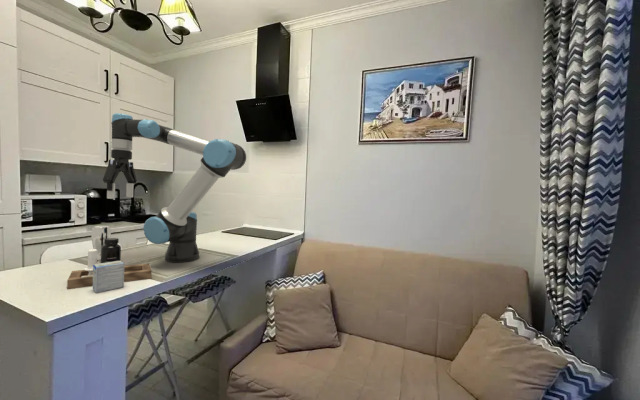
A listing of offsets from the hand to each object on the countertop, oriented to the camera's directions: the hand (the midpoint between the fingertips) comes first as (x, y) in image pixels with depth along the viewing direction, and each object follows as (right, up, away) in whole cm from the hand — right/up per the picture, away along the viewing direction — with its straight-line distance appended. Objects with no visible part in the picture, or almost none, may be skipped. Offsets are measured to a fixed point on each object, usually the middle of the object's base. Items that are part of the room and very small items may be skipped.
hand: (120, 198), depth 124 cm
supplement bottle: (+1, -29, -7) cm, 30 cm away
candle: (+6, -31, -24) cm, 39 cm away
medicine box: (+17, -31, -29) cm, 46 cm away
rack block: (+11, -30, -20) cm, 38 cm away
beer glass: (-12, -28, +4) cm, 31 cm away
